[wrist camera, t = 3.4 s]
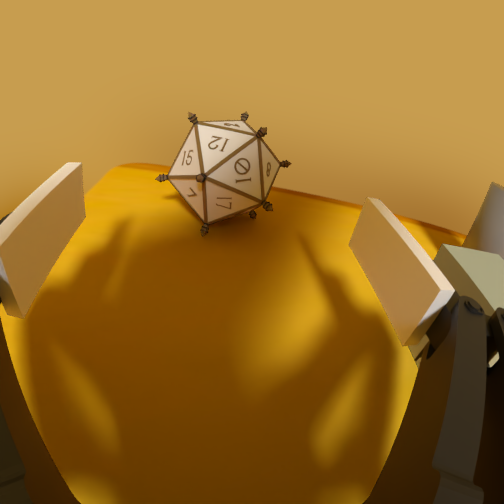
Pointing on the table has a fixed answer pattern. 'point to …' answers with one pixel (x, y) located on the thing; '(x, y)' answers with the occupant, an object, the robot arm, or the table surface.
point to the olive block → (470, 281)
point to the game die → (224, 169)
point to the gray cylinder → (489, 224)
